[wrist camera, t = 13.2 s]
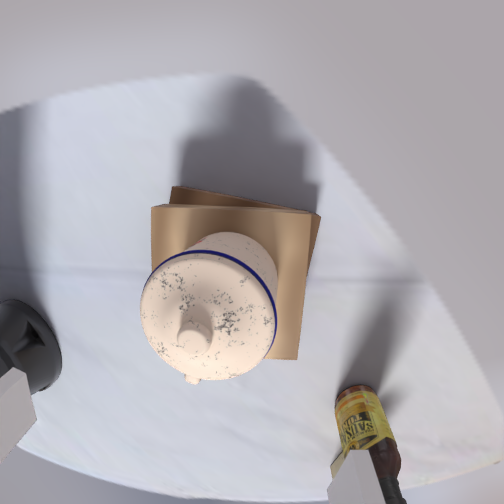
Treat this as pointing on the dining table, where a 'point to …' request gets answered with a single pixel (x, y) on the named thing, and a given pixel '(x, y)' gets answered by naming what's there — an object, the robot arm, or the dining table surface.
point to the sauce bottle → (370, 436)
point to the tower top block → (259, 229)
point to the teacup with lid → (212, 307)
